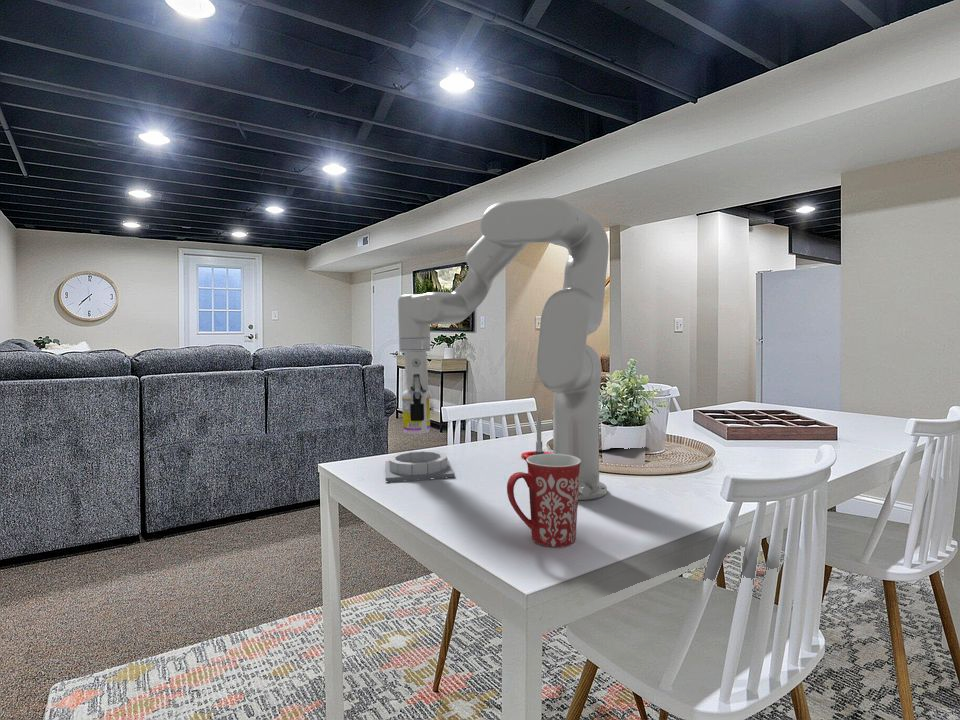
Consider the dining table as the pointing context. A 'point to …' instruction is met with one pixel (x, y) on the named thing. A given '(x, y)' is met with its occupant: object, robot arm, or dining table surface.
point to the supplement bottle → (409, 425)
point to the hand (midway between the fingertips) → (416, 417)
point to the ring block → (418, 466)
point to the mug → (550, 498)
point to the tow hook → (538, 442)
